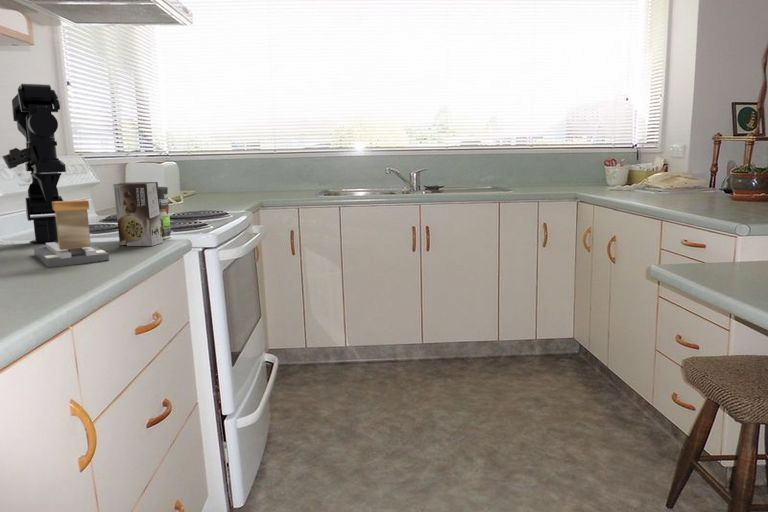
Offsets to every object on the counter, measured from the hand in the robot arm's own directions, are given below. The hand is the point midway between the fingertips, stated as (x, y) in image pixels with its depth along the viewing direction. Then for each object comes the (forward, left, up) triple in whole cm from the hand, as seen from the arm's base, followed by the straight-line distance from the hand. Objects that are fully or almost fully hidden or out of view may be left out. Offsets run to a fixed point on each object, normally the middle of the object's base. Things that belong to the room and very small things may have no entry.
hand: (48, 201), depth 148 cm
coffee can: (-16, +19, -12) cm, 28 cm away
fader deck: (+13, +10, -12) cm, 21 cm away
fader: (+18, +14, -10) cm, 25 cm away
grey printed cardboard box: (-5, +20, -12) cm, 24 cm away
